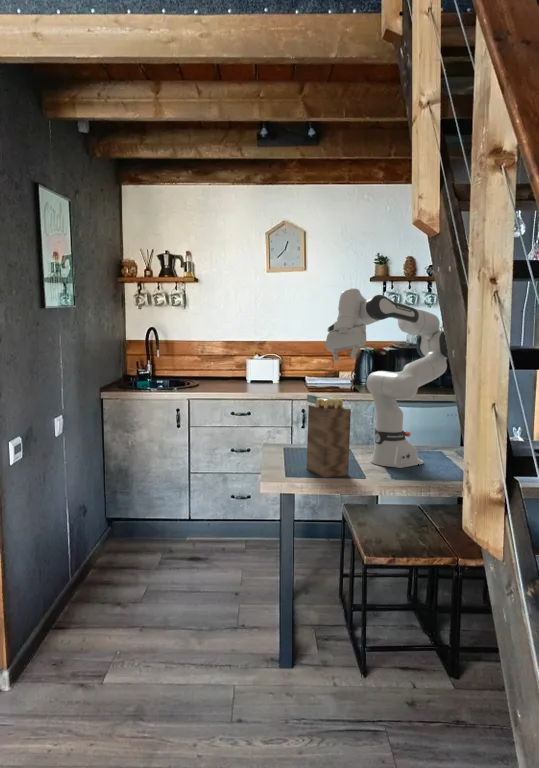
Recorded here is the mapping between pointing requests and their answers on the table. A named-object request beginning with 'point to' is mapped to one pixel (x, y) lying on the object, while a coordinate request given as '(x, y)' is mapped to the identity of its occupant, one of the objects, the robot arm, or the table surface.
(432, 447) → the table surface
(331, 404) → the gear axle
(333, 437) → the walnut stand
